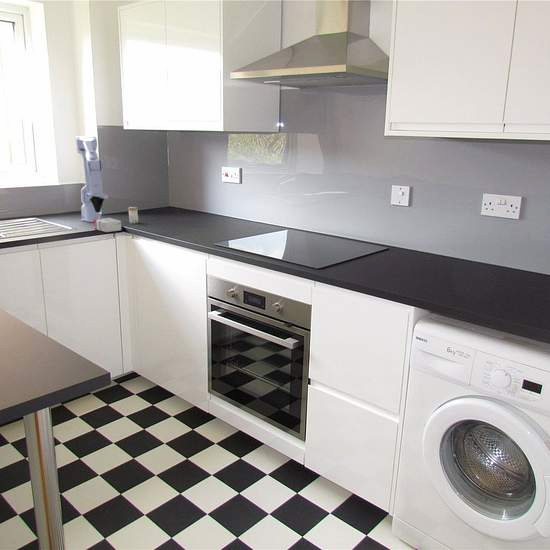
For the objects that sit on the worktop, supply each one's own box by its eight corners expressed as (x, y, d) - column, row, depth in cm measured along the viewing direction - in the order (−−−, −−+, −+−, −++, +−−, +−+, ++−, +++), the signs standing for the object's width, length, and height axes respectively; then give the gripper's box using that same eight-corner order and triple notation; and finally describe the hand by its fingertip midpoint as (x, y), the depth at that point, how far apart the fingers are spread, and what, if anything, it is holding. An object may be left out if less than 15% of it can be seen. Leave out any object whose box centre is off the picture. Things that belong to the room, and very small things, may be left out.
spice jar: (127, 222, 279) (126, 207, 277) (134, 221, 283) (133, 206, 281) (133, 223, 276) (132, 208, 274) (140, 222, 280) (139, 207, 278)
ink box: (94, 229, 260) (105, 232, 252) (93, 219, 259) (104, 222, 251) (110, 227, 266) (121, 230, 258) (109, 217, 264) (121, 220, 256)
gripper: (79, 184, 260) (82, 211, 264) (98, 186, 252) (101, 214, 256) (91, 183, 266) (93, 210, 269) (110, 184, 258) (112, 212, 262)
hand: (98, 212), depth 263 cm, fingers closed
